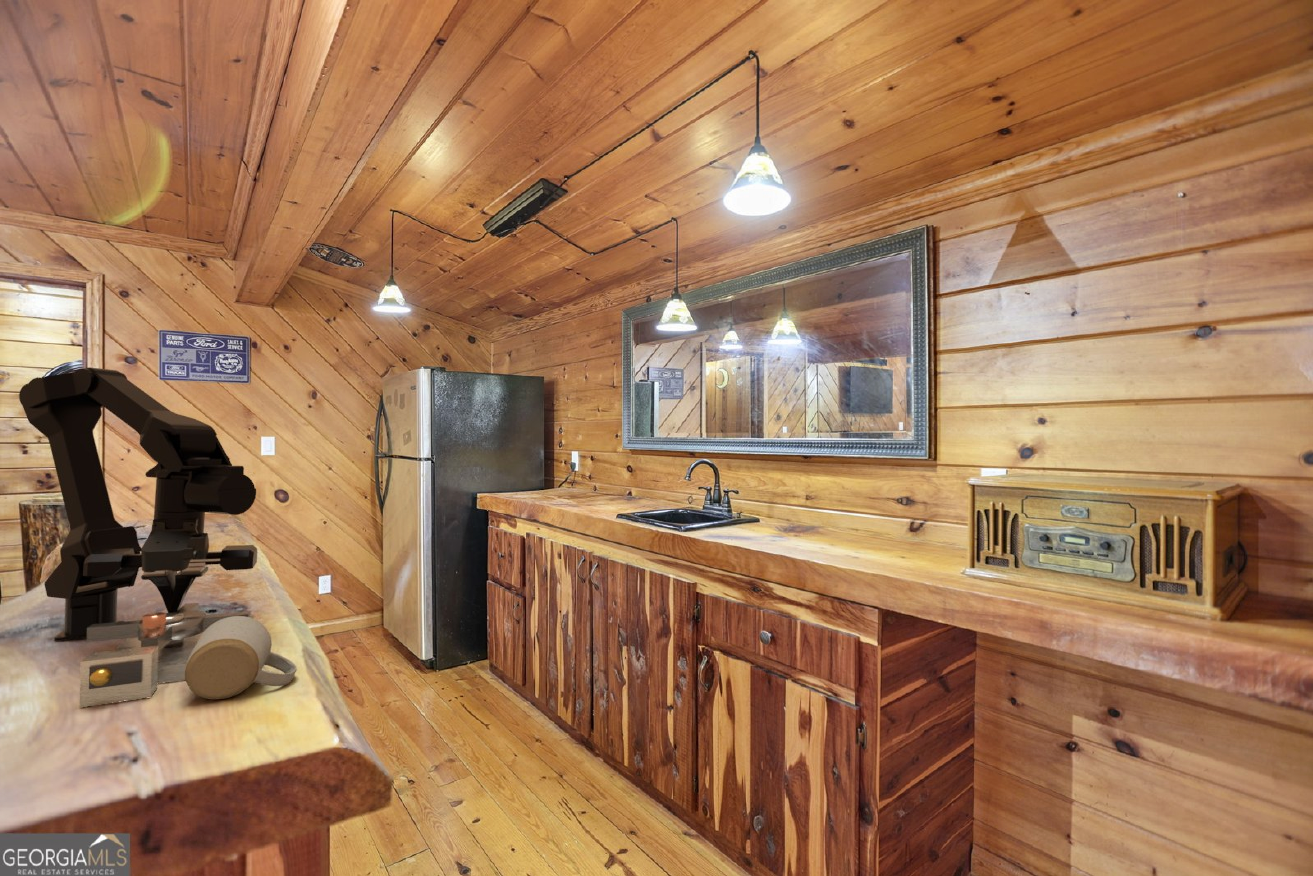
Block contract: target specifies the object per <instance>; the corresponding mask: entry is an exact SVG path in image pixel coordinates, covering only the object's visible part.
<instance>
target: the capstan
mask: <svg viewBox="0 0 1313 876" xmlns="http://www.w3.org/2000/svg"><path fill="white" fill-rule="evenodd" d="M251 614H252V611H239V612H238V611H237V612H227V613H215V614H213V613H212V614H207V613H206V612H204V611H200V602H191V603H185V604H184V605H183V606H182V605H181V607H180V609H179V610H177V611H176V612H172V613H168V612H167V613H166V612H163V611H162V612H159V611H158V612H152V613H147V614H144V615H142V619H141V620H125V622H114V623H102V624H92V625H91V626H89V627H87V638H86V643H92V642H94V643H95V642H104V641H105V642H106V641H114V640H115V641H116V640H125V639H128V638H138V640H139V641H141V647H149V646H158V652H159V651H160V650H161V649H162V648H163V647H164V646H166V645H167V644H168V643H169V642H170V641H173V640H179V639H184V638H188V637H192V636H195V635H198V634H200V633H202V632H204V631H205V630H206V629H207V628H208V627H209V626H210V625H212V624H214V623H215V622H217V621H219V620H221V619H224V618H227V617H232V616H245V617H250V618H252V617H251Z"/></svg>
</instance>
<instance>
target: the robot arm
mask: <svg viewBox="0 0 1313 876" xmlns="http://www.w3.org/2000/svg"><path fill="white" fill-rule="evenodd" d="M18 398H19V403H20V405H22V408H23V410H24V411H23V412H24V413H25V416H26V419H27V420H28V421H27V422H28V423H29V424H30V425H32V426H33V428H35V429H36V430H38V431H39V432H40V433H41V434H42V435H43V436H45V437H46V438H47V440H48V442H49V447H50V452H51V454H52V455H51V456H52V459H53V463H54V467H55V468H54V469H55V473H56V476H57V479H58V484H59V486H60V487H59V488H60V491H61V497H62V501H63V504H64V508H65V512H66V516H67V521H68V524H69V529H70V531H69V532H68V534H67V536H66V538H65V540H64V542H63V544H62V546H61V547H60V550H59V553H60V563H59V564H58V565H57V566H56V568H55V569H54V571H53V572H52V573H51V574H50V575H49V576H48V578H47V579H46V580H45V582H44V584H43V585H44V589H45V594H46V596H47V598H55V599H56V598H57V599H62V600H63V599H64V601H65V602H64V628H63V629H64V630H62V631H61V632H60V633H58V634H57V635H55V636H54V637H53V641H55V642H57V641H67V640H69V641H70V640H77V639H85V638H86V639H87V627H89V626H91V625H92V624H102V623H114V622H126V620H119V621H118V619H117V618H118V593H119V592H118V590H119V589H124V588H127V587H128V588H130V587H134V586H135V584H136V580H137V577H138V573H139V570H140V568H141V571H142V572H143V574H142V575H141V576H140V577H141V580H143V581H150V582H151V583H152V584H153V585H154V586H155V587H156V589H157V590H158V592H159V594H160V596H161V598H162V600H163V603H164V606H165V609H166V611H167V613H172V612H176V611H177V610H179V609H180V608H181V607H182V604H183V603H184V600H185V598H186V596H187V594H188V592H189V590H190V588H191V587H192V585H193V583H194V581H195V580H196V578H200V577H203V576H204V575H205V574H206V573H207V572H208V571H209V566H208V565H211V566H212V565H219V566H220V567H222V568H223V569H224V570H226V571H237V570H238V571H239V570H240V571H241V570H252V569H254V567H255V566H256V564H257V563H258V548H257V547H256V546H255V545H254V544H240V545H239V544H238V545H237V544H236V545H235V544H234V545H226V546H225V547H223V549H221V551H209V549H210V539H209V533H207V532H205V521H206V520H205V518H206V517H205V516H206V513H208V514H220V515H231V516H237V515H242V514H244V513H245V512H247V511H249V510H250V509H251V507H252V506H253V504H255V501H256V497H257V488H255V484H254V482H253V480H252V479H251V478H250V477H249V476H247V475H246V474H245V471H244V470H245V467H244V466H243V465H232V462H231V459H230V457H229V456H228V454H227V452H226V451H225V450H224V447H223V446H222V444H221V441H220V439H219V438H218V436H217V435H218V433H217V432H216V431H215V429H214V428H213V427H212V426H211V425H209V424H207V423H205V422H203V421H200V420H199V419H196V418H193V417H189V416H186V415H184V414H183V415H182V414H178V413H176V412H174V411H171V410H170V409H168V408H167V407H166V406H164V405H163V404H161V403H160V402H159V401H158V400H156V399H155V398H153V397H152V396H150V395H149V394H148V393H146V392H145V391H144V390H142V389H141V388H140V387H138V386H137V385H135V384H134V382H131V380H128V378H127V375H126V374H125V373H123V372H120V371H118V370H116V369H107V368H97V367H89V366H88V367H85V368H79V369H77V370H74V371H72V372H65V373H61V374H60V373H59V374H53V375H47V376H43V377H35V378H32V379H31V380H30V381H28V383H26V384H24V385H23V386H22V387H21V388H20V390H19V395H18ZM102 408H105V409H106V410H108V411H109V412H110V413H111V414H113V415H114V416H115V417H117V418H118V419H120V420H121V421H122V422H123V423H125V424H126V425H127V426H129V427H130V428H131V429H133V430H134V431H135V432H137V434H138V435H139V445H140V446H141V448H142V449H143V450H144V451H145V452H146V454H147V455H148V456H149V457H150V458H151V459H152V460H153V461H154V462H156V463H157V464H156V465H154V466H153V467H152V468H150V469H148V470H147V471H146V472H145V473H144V474H145V475H144V476H145V477H146V478H155V479H156V481H155V493H154V494H155V495H154V497H155V498H154V512H153V519H152V523H151V524H152V525H151V531H150V532H149V535H148V537H147V538H146V540H145V541H144V543H143V545H142V547H141V545H140V542H139V541H138V532H137V530H136V528H135V527H134V526H131V525H130V526H123V525H122V524H121V523H119V522H118V521H117V520H116V519H115V515H114V511H113V507H112V503H111V500H110V495H109V491H108V488H107V484H106V479H105V476H104V471H103V468H102V463H101V461H100V456H99V455H100V454H99V451H98V449H97V444H96V443H97V442H96V440H95V436H94V429H95V428H96V425H98V422H99V421H100V419H101V417H102V414H103V413H102Z"/></svg>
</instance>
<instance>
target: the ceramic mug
mask: <svg viewBox="0 0 1313 876" xmlns="http://www.w3.org/2000/svg"><path fill="white" fill-rule="evenodd" d="M272 645H273V644H272V636H271V634H270V632H269V630H268V628H267V627H266V626H265V625H264V624H263V623H262V622H260V621H259V620H257V619H255V618H252V617H251V618H250V617H245V616H232V617H227V618H224V619H221V620H219V621H217V622H215V623H214V624H212V625H210V626H209V627H208V628H207V629H206V630H205V631H204V632H203V634H202V635H201V637H200V639H199V640H198V642H197V644H196V646H195V647H194V649H193V651H192V652H191V654H190V656H189V658H188V660H187V663H186V667H185V679H186V680H185V681H186V684H187V686H188V688H189V689H190V690H191V691H192V693H194V694H195V695H197V696H198V697H200V698H203V699H208V700H224V699H225V700H226V699H228V698H232V697H235V696H236V695H237V696H238V695H239V694H241V693H242V692H243V691H245V690H246V689H248V688H249V687H250V686H251V685H252V684H253V683H256V684H259V685H263V686H270V687H282V686H283V685H284V686H286V685H288V684H290V683H291V682H292V681H291V680H293V679H294V677H295V674H296V673H297V670H298V668H297V665H296V664H295V663H294V662H293V661H292V660H290V659H289V658H287V657H285V656H283V655H281V654H278V653H276V652H271V651H272ZM264 666H269V667H270V668H274V669H275V670H278V671H280V672H282V673H279V672H272V671H269V670H263V668H264ZM289 682H290V683H289ZM287 683H288V684H287ZM285 684H286V685H285Z"/></svg>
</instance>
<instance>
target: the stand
mask: <svg viewBox="0 0 1313 876" xmlns="http://www.w3.org/2000/svg"><path fill="white" fill-rule="evenodd" d="M202 634H203V632H202V633H200V634H198V635H195V636H192V637H188V638H184V639H179V640H173V641H170V642H169V643H168V644H167V645H166V646H164V647H163V648H162V649H161V650H160V651H159V652H158V646H149V647H141V641H139V640H138V638H128V639H123V641H122V642H121V643H120V644H119V645H118V646H117V648H116V647H115V649H114V650H108V651H98V652H97V651H96V652H90V653H88V655H87V656H85V657H84V658H83V659H82V660H81V661H80V673H79V678H80V679H79V680H80V681H79V707H78V708H79V709H83V707H85V708H88V707H87V706H92V707H96V706H95V705H99V706H102V705H101V704H105V705H107V704H106V703H112V702H113V703H112V704H115V703H114V702H119V701H124V700H133V701H137V700H136V699H139V700H143V699H142V698H146V699H148V698H147V697H151V696H153V695H154V694H153V693H155V692H156V691H157V689H158V684H157V683H161V684H164V683H163V682H169V683H174V682H183V681H186V679H185V667H186V663H187V660H188V658H189V656H190V654H191V652H192V651H193V649H194V647H195V646H196V644H197V642H198V640H199V639H200V637H201V635H202ZM156 688H157V689H156ZM155 690H156V691H155ZM154 691H155V692H154ZM152 694H153V695H152ZM151 698H152V697H151ZM119 703H120V702H119ZM93 705H94V706H93Z"/></svg>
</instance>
